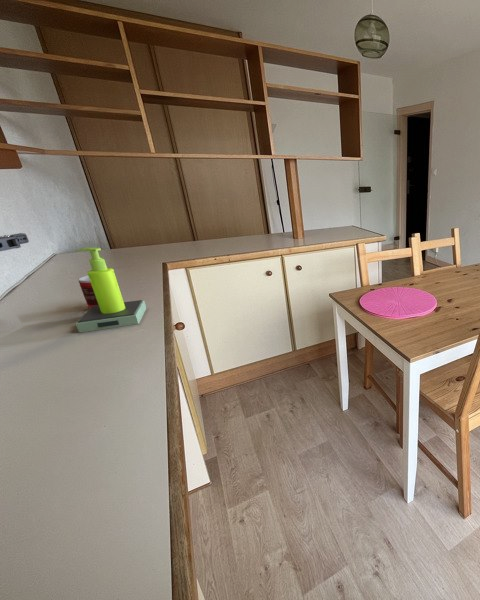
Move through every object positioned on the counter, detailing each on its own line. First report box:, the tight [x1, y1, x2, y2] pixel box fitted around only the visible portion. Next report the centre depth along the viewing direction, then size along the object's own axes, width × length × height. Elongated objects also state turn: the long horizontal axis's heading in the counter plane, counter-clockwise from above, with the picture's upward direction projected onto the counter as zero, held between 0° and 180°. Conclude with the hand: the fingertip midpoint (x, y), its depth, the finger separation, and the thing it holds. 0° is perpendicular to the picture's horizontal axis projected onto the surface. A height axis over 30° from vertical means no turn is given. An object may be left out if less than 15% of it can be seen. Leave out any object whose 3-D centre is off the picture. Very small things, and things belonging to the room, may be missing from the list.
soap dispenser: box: [76, 246, 125, 314], centre depth 96 cm, size 6×7×20 cm
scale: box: [75, 299, 147, 333], centre depth 100 cm, size 14×14×3 cm
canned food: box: [77, 275, 99, 310], centre depth 108 cm, size 8×8×11 cm
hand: (4, 237), depth 72 cm, fingers open, 8 cm apart
